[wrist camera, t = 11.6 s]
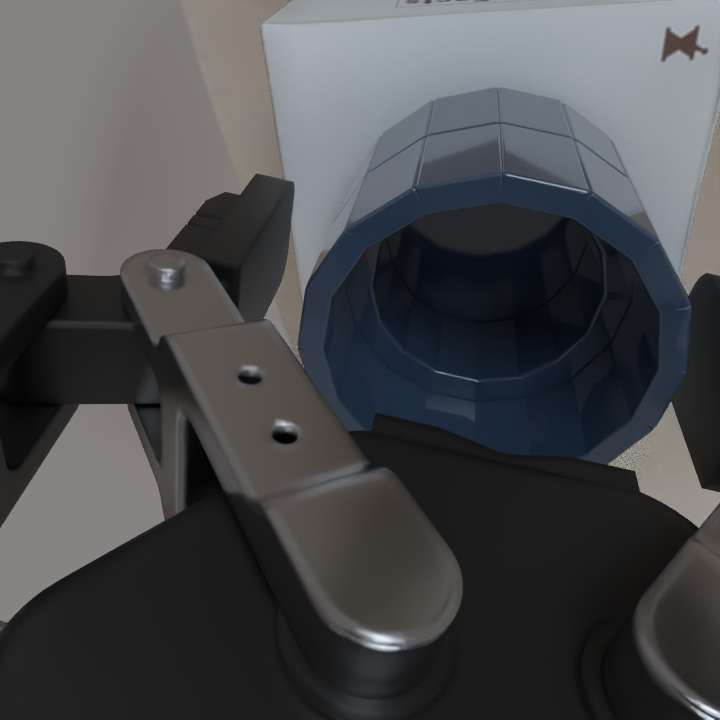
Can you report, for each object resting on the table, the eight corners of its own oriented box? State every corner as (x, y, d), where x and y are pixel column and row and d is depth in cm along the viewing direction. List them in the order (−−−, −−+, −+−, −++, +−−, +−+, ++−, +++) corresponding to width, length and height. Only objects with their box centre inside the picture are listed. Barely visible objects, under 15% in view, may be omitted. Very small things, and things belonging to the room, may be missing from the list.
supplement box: (366, -68, 26) (243, -1, 13) (614, -89, 25) (768, -36, 11) (381, 171, 32) (305, 394, 18) (585, 166, 30) (665, 405, 17)
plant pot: (373, 52, 13) (325, 133, 9) (683, 119, 13) (771, 230, 9) (330, 312, 17) (282, 452, 13) (572, 366, 17) (600, 524, 13)
